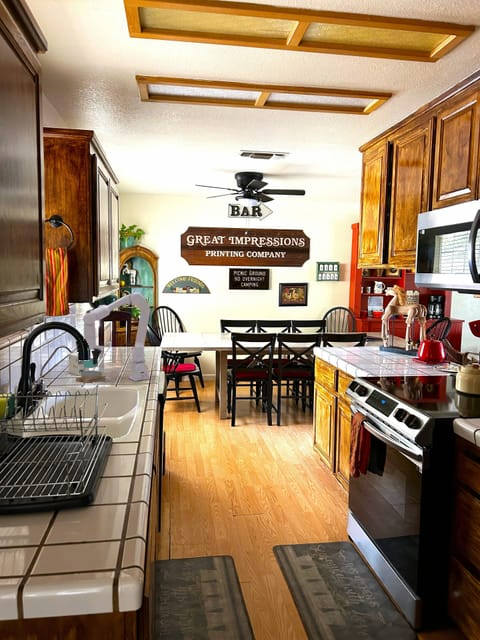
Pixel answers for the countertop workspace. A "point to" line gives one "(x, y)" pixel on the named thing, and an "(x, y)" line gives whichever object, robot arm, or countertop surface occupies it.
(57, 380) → the countertop surface
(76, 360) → the light bulb box
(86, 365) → the teal block
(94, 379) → the walnut base slab
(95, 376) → the grey middle slab
